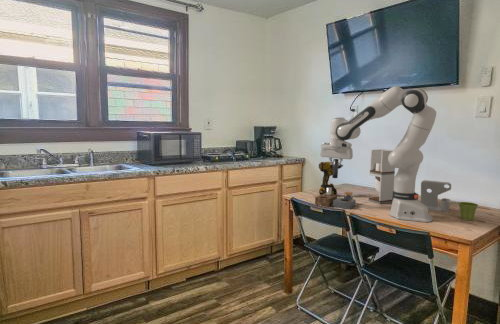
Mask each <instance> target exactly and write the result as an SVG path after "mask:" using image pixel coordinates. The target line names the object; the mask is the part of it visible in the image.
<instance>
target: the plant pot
mask: <svg viewBox="0 0 500 324" xmlns="http://www.w3.org/2000/svg"><path fill="white" fill-rule="evenodd" d="M478 206H479V204H477V203H474V202H469V201H460V202H458V207H459V214H460V218H461V219H462V220H464V219H465V220H466V221H474V219H475V216H476V210H477V208H478ZM465 220H464V221H465Z"/></svg>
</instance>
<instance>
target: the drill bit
mask: <svg viewBox="0 0 500 324" xmlns="http://www.w3.org/2000/svg"><path fill="white" fill-rule="evenodd" d="M332 161H333V175H331V176H332V179H338V178H339V177H338V176H339V169H338V163H339V162H340V159H339V158H332Z"/></svg>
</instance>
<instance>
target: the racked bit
mask: <svg viewBox="0 0 500 324" xmlns="http://www.w3.org/2000/svg"><path fill="white" fill-rule="evenodd" d="M331 189H332V188H331V187H327V191H326V196H331Z"/></svg>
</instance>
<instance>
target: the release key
mask: <svg viewBox="0 0 500 324" xmlns="http://www.w3.org/2000/svg"><path fill="white" fill-rule="evenodd" d="M353 194H354V192H352V191H345V192H344V195H345V196H346V195H347V196H346V197H350V196H353Z"/></svg>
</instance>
